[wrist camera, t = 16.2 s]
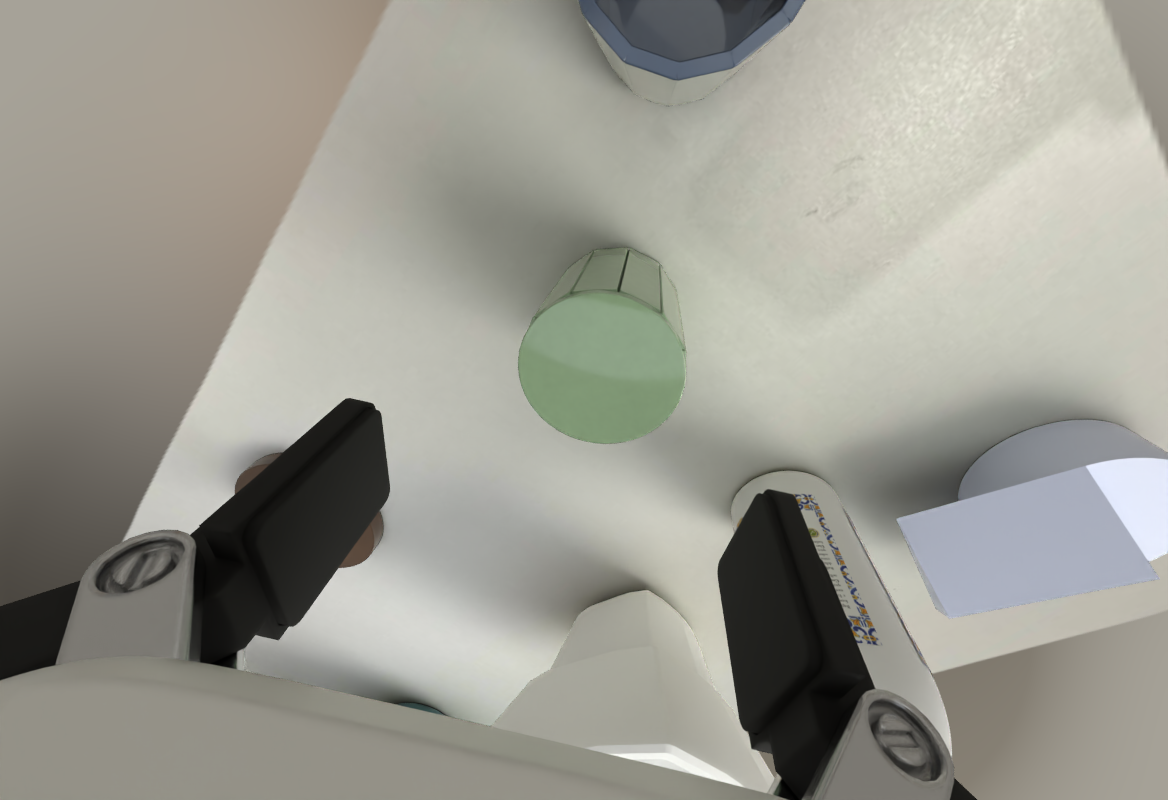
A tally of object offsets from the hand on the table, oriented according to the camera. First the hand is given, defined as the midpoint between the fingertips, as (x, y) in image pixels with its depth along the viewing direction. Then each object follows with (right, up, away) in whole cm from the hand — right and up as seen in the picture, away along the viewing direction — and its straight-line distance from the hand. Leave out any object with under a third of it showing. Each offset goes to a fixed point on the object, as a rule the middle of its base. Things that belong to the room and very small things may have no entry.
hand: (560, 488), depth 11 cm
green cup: (+2, +7, +13) cm, 15 cm away
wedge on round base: (+27, -3, +16) cm, 31 cm away
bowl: (+5, -17, +28) cm, 33 cm away
